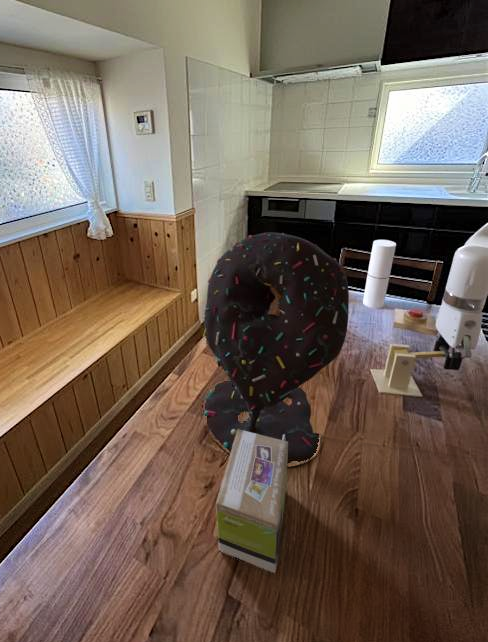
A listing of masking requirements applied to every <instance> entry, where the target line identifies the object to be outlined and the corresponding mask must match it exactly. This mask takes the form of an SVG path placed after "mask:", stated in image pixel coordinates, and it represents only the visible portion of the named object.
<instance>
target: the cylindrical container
mask: <svg viewBox="0 0 488 642" xmlns="http://www.w3.org/2000/svg"><path fill="white" fill-rule="evenodd" d="M396 247H397V243H396V242H395V241H392V240H389V239H375V240H373V242H372V248H371V253H370V258H369V264H368V270H367V276H366V281H365V287H364V293H363V298H362V304H363V305H364V306H366V307H368V308H369V309H370V308H371V309H381V308H383V307H384V305H385V301H386V297H387V296H386V295H387V290H388V287H389V283H390V282H389V281H390V276H391V272H392V271H391V270H392V267H393V266H392V265H393V262H394V257H395V252H396Z"/></svg>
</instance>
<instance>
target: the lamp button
mask: <svg viewBox="0 0 488 642" xmlns="http://www.w3.org/2000/svg"><path fill="white" fill-rule="evenodd" d="M409 309H410V313H409V314H410V315H411V316H413V317H417V318H420V317H422V314H423V312H424V311H423V310H422V309H420V308H417V307H411V308H409Z"/></svg>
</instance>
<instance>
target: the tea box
mask: <svg viewBox="0 0 488 642" xmlns="http://www.w3.org/2000/svg"><path fill="white" fill-rule="evenodd" d="M287 459H288V441H283V440H279V439H275V438H271V437H267V436H263V435H259V434H255V433H251V432H247V431H244V430H240V429H238V430H237V433H236V437H235V440H234V443H233V446H232V450H231V453H230V455H229V457H228V461H227V464H226V467H225V470H224V474H223V478H222V481H221V484H220V488H219V491H218V493H217V495H218V496H217V498H216V501H215V513H216V526H217V539H218V551H219V550H220V551H221V552H223V553H225V554H228V555H231V556H234V557H237V558H239V559H242V560H244V561H247V562H249V563H251V564H254V565H256V566H259V567H261V568H264V569H267V570H269V571H271V572H274V573H275V572H277V566H278V565H277V564H278V558H279V550H280V543H281V536H282V527H283V519H284V513H285V504H286V503H285V502H286V493H287V492H286V491H287V478H288V477H287V476H288V474H287V473H288V467H287ZM221 552H220V553H221ZM223 553H222V554H223ZM225 554H224V555H225ZM275 574H276V573H275Z"/></svg>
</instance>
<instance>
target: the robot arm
mask: <svg viewBox="0 0 488 642" xmlns="http://www.w3.org/2000/svg"><path fill="white" fill-rule="evenodd" d="M445 285H446V286H445V289H444V293H443V295H442V300H441V305H440V307H439V310H438V312H437V315H436V319H435V321H436V328H437V332H436V335H435V342H434V346H433V350H432V352H434V351H440V350H439V347H440V346H445V347H446V349H447V350H448V351H449V355H447V356H446V358H445V359H444V363H443V369H444V370H448V371H459V370H460V368H461V365H462V362H463V360H465V359H467V358H469V359H471V358H472V350H475V349H476V347H477V346H478V342H479V338H480V335H481V329H482V323H483V312H482V311H483V309H484V306H485V305H486V301H487V297H488V222H487V223H485V224H484V225H483V226H481V228H479V229H478V230H477V231H476V232H475V233H474V234H473V235H471V236H470V237H469V238H468V239H467V240H466V242H465V243H464V245H463V246H461V247H459V248H457V249H456V250H455V252H454V255H453V257H452V262H451V267H450V270H449V274H448V278H447V282H446V284H445ZM456 349H459V351H456Z"/></svg>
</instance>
